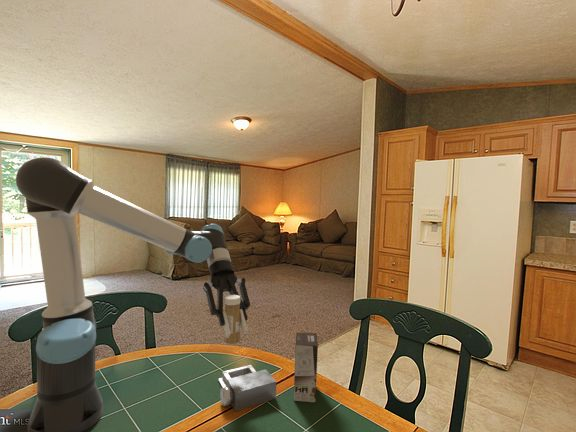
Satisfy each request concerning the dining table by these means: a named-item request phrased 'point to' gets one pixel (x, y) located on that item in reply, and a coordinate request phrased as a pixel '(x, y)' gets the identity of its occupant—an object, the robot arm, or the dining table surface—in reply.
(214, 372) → the dining table surface
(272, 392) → the grey open drawer box
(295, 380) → the coffee box
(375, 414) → the dining table surface
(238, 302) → the sprinkles bottle
